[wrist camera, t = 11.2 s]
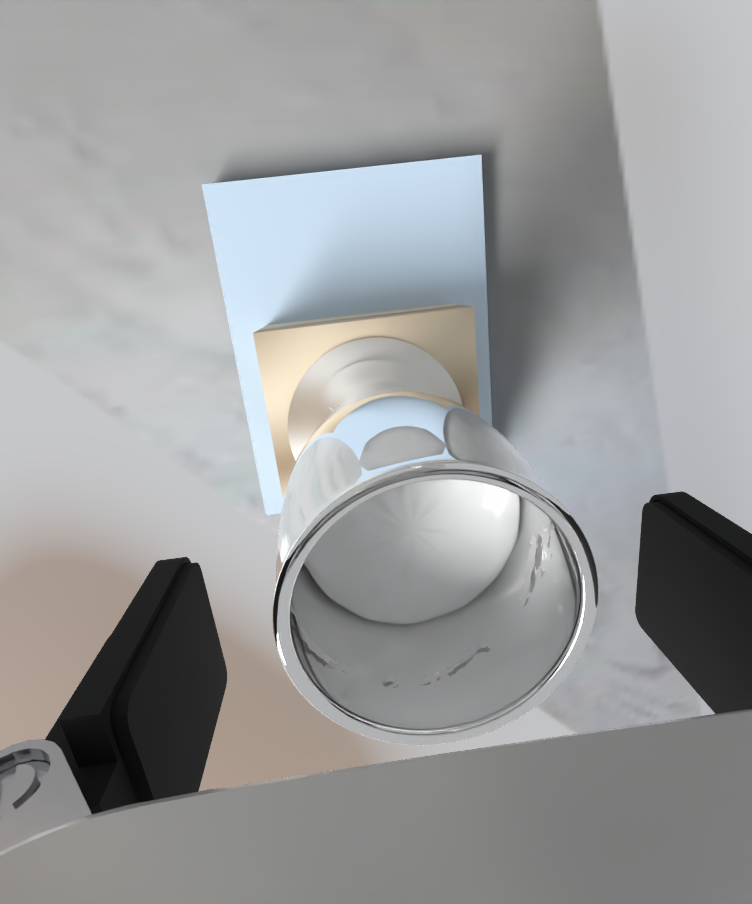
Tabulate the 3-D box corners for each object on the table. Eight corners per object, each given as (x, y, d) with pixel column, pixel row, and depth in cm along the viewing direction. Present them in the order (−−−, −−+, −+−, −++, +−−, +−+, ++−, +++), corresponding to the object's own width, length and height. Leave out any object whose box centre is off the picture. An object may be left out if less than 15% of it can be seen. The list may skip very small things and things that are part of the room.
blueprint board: (208, 189, 27) (201, 184, 25) (473, 161, 27) (481, 154, 26) (269, 505, 32) (265, 515, 31) (487, 476, 33) (494, 485, 32)
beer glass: (439, 335, 23) (605, 418, 9) (457, 476, 26) (615, 719, 11) (287, 363, 23) (217, 493, 9) (319, 503, 25) (303, 783, 11)
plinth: (267, 324, 28) (252, 333, 23) (450, 303, 28) (475, 307, 23) (296, 495, 31) (288, 535, 26) (461, 474, 31) (485, 509, 26)
